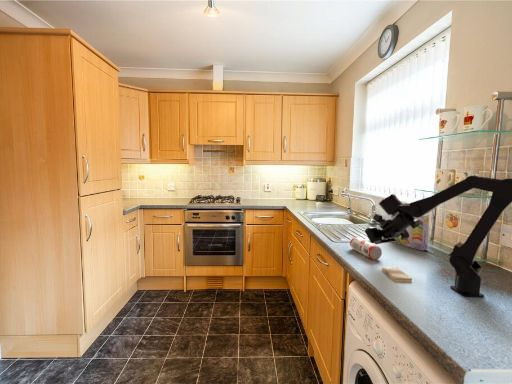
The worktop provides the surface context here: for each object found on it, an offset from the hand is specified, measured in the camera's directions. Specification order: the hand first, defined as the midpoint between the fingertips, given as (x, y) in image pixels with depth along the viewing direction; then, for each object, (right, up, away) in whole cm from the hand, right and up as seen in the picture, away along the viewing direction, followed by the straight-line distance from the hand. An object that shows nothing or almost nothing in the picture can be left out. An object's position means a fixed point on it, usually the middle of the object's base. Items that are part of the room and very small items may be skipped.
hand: (375, 243), depth 114 cm
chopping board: (+1, -9, -15) cm, 17 cm away
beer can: (+1, -5, 0) cm, 5 cm away
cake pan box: (+27, -6, +23) cm, 35 cm away
